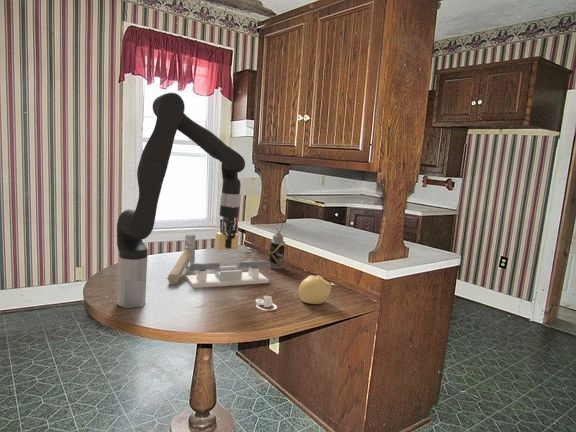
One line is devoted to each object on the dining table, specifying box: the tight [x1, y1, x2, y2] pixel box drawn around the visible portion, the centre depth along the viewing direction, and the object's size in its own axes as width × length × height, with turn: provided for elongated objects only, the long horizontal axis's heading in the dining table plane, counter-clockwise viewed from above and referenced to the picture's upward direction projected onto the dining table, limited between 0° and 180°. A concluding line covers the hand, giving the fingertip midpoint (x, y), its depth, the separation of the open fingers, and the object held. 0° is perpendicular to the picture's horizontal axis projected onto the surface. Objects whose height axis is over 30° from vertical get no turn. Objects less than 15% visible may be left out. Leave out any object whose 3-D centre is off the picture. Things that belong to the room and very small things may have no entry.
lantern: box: [267, 218, 286, 270], centre depth 207 cm, size 9×8×25 cm
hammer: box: [167, 232, 197, 285], centre depth 182 cm, size 16×5×30 cm
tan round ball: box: [298, 274, 332, 305], centre depth 164 cm, size 11×12×11 cm
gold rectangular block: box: [214, 232, 239, 250], centre depth 165 cm, size 4×8×6 cm, turn 118°
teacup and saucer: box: [255, 295, 278, 312], centre depth 155 cm, size 9×8×4 cm
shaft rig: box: [185, 260, 270, 289], centre depth 180 cm, size 12×34×8 cm, turn 118°
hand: (226, 246), depth 165 cm, fingers closed on gold rectangular block, 4 cm apart
